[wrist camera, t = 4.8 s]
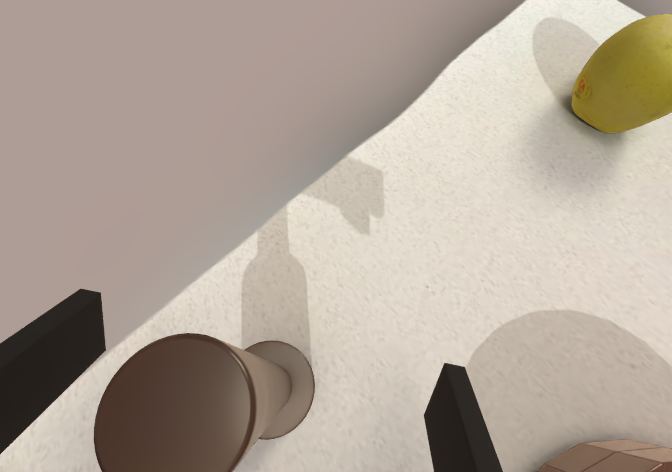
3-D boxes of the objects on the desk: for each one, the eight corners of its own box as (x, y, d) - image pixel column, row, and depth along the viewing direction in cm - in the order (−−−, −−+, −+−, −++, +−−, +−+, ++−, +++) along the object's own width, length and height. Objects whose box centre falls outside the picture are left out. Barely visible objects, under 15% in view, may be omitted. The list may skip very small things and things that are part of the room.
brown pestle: (226, 380, 21) (-55, 390, 5) (284, 333, 23) (224, 214, 6) (269, 443, 20) (96, 741, 4) (327, 390, 22) (396, 436, 5)
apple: (545, 63, 32) (676, -46, 24) (604, 95, 35) (743, 7, 26) (554, 131, 29) (708, 36, 21) (618, 161, 32) (780, 87, 23)
